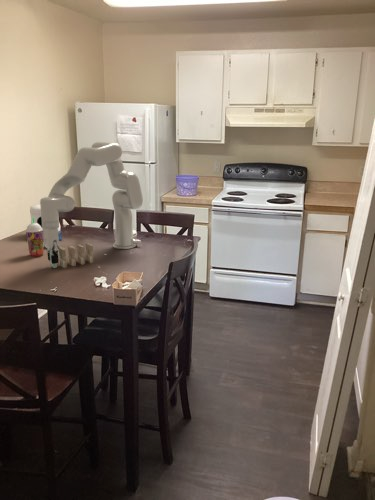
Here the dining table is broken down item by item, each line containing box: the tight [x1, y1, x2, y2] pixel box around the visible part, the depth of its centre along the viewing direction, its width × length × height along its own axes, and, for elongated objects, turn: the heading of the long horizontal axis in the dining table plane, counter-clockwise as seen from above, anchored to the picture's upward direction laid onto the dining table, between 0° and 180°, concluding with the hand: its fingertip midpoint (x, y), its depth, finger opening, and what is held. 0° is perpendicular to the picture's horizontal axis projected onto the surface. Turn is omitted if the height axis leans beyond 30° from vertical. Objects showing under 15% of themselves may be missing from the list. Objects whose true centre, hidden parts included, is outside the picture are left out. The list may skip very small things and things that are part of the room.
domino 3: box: [67, 245, 77, 267], centre depth 211 cm, size 2×5×9 cm, turn 34°
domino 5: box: [85, 242, 94, 264], centre depth 215 cm, size 2×5×9 cm, turn 34°
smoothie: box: [25, 217, 44, 258], centre depth 223 cm, size 8×8×20 cm
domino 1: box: [49, 248, 58, 269], centre depth 206 cm, size 2×5×9 cm, turn 34°
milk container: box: [29, 203, 61, 232], centre depth 261 cm, size 17×17×18 cm
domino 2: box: [58, 246, 67, 269], centre depth 208 cm, size 2×5×9 cm, turn 33°
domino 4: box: [76, 243, 85, 266], centre depth 213 cm, size 2×5×9 cm, turn 33°
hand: (53, 261), depth 206 cm, fingers closed on domino 1, 4 cm apart
